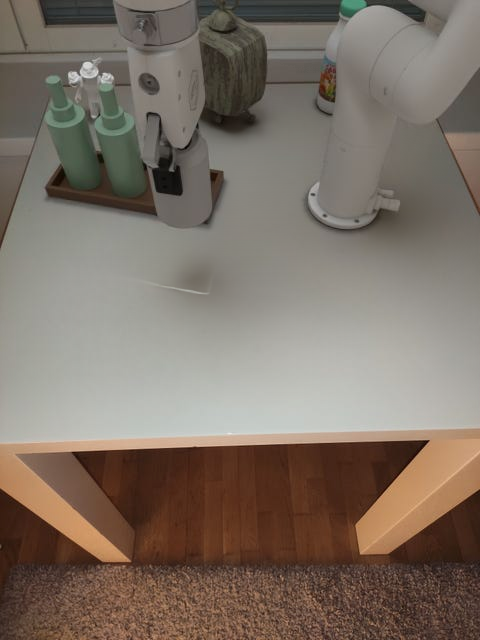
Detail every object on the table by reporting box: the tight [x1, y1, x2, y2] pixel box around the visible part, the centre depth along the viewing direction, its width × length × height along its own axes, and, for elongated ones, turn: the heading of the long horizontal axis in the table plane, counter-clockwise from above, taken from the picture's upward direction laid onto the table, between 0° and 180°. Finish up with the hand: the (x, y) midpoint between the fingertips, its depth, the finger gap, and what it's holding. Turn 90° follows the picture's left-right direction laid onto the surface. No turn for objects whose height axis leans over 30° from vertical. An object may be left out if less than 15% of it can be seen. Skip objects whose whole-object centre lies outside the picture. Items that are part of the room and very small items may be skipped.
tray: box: [44, 150, 225, 225], centre depth 86 cm, size 30×12×3 cm, turn 77°
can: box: [147, 127, 213, 230], centre depth 59 cm, size 8×8×12 cm
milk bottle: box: [316, 0, 367, 115], centre depth 93 cm, size 8×8×20 cm
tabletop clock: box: [198, 0, 268, 124], centre depth 89 cm, size 14×9×25 cm, turn 49°
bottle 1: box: [44, 74, 103, 191], centre depth 80 cm, size 6×6×19 cm
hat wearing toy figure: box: [67, 56, 116, 119], centre depth 94 cm, size 9×4×12 cm, turn 87°
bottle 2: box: [93, 83, 147, 198], centre depth 79 cm, size 6×6×19 cm
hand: (179, 169), depth 58 cm, fingers closed on can, 7 cm apart
